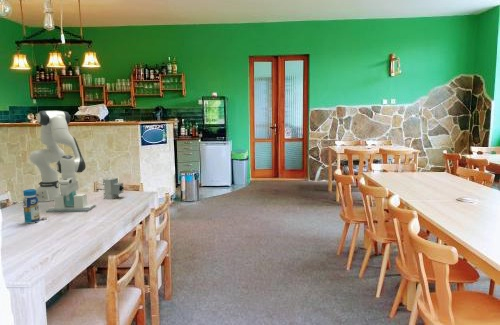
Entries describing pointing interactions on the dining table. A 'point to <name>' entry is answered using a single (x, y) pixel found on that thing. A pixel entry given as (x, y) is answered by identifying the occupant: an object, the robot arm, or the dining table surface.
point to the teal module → (71, 201)
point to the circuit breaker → (112, 188)
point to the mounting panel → (78, 206)
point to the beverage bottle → (31, 206)
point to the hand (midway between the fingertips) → (70, 199)
